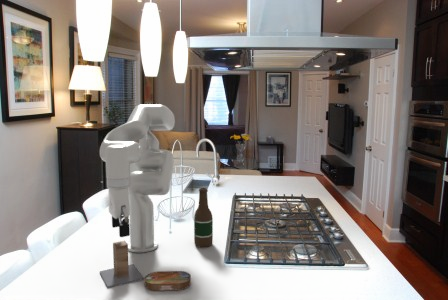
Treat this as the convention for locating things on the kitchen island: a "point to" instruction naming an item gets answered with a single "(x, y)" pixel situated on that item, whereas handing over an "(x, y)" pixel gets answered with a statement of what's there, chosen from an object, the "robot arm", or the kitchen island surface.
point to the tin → (167, 280)
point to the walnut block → (120, 259)
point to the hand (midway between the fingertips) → (120, 231)
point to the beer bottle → (203, 222)
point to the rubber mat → (114, 281)
